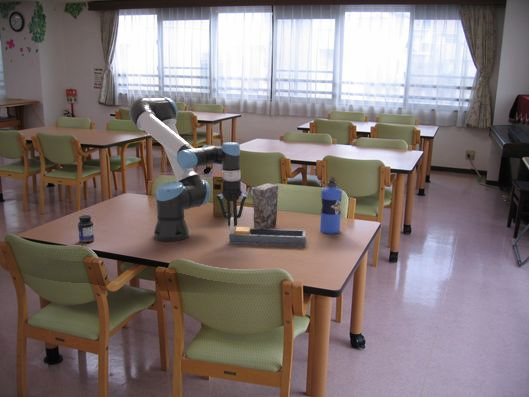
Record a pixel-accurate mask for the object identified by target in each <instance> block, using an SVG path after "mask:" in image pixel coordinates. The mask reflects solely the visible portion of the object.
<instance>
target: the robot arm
mask: <svg viewBox="0 0 529 397" xmlns="http://www.w3.org/2000/svg"><path fill="white" fill-rule="evenodd" d="M128 113H129V118H130V121H131V122H132V124H133V125H134V127H136V128H137V129H138V130H140V131H145V132H146V133H147V134H148V135H150V137H152V138H153V139H154V140H156V141H157V142H158V143H159V144H161V145H162V146H163V149H164V151H165V153H166V156H167V160H168V161H169V163H170V166H171V168H172V170H173V173H174V176H175V178H176V180H175V181H171V182H170V181H169V182H164V183H161V184H160V185H158V186H157V187H156V195H155V199H156V215H157V217H156V218H157V219H156V223H155V228H154V229H153V237H154V239H155V238H156V240H157V241H161V242H162V241H163V242H176V241H182V240H185V239H187V238H188V237H189V236H190V234H189V227H188V225H187V223H186V220H185V211H186V210H190V209H193V208H199V207H201V206H203V205H206V204H207V203H208V202H209V200H210V197H211V192H212V191H211V187H210V184H209V183H208V181H207V180H205V179H202V178H201V176H200V174H199V173H197V172H195V170H194V168H197V167H202V166H203V167H204V166H207V165H212V164H214V165H215V164H218V165H222V170H223V179H224V180H223V191H222V193H221V194H220V195H218V196H217V199H218V200H219V202H220V206H221V209H222V213H223V216H222V217H224V218H226V219H227V226H228V227H230V229H229V230H230V231H229V232H230V234H234V233H235V228H236V227H238V219H240V218H241V217H242V215H243V214H242V213H243V210H244V206H245V201H246V199H247V198H248V195H247V194H244V193H243V191H242V188H241V185H242V182H241V178H242V176H241V175H242V174H241V146H240V144H239V142H236V141H234V142H232V141H229V142H228V141H227V142H222V145H221V146H218V145H213V144H206V145H203V146H202V147H197V148H195V147H193V145H191V144H190V143H188V142H187V141H186V140H185V139H184V138H182V137H181V136H180V134H179V132H178V129H177V126H176V124H177V121H178V120H177V118H178V116H179V114H178V106H177V104H176V103H175V102H174V100H172V98H169V97H165V96H164V97H163V96H157V97H156V96H155V97H142V98H138V99H136V100H134V101H133V102H132V103H131V105H130V107H129V110H128ZM223 196H224V197H225V199H226V200H227V212H226V208H225V205H224V201H223ZM239 199H241V202H240V205H239V210H238V200H239ZM231 201H233V214H232V215H233V217H232V216H231Z"/></svg>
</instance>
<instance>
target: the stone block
mask: <svg viewBox="0 0 529 397" xmlns="http://www.w3.org/2000/svg"><path fill="white" fill-rule="evenodd" d="M278 192H279V186H278V185H277V184H273V183H269V182H267V183H264V184H260V185H259V186H255V187H254V188H253V189H252V205H253V207H252V208H253V228H258V229H272V227H275V226H276V225H277V219H278V216H277V215H278V198H279V195H278V194H279V193H278Z"/></svg>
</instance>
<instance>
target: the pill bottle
mask: <svg viewBox="0 0 529 397" xmlns="http://www.w3.org/2000/svg"><path fill="white" fill-rule="evenodd" d="M78 219H79V222H78V223H77V230H78V238H79V239H78V240H79V241H78V242H79V243H81V242H90V243H92V241H93V240H94V241H95V233H94V222H93V221H92V220H91V219H92V216H91V215H89V214H88V215H87V214H85V215H80V216H79V217H78ZM94 241H93V242H94Z"/></svg>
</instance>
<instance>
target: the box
mask: <svg viewBox="0 0 529 397" xmlns="http://www.w3.org/2000/svg"><path fill="white" fill-rule="evenodd" d="M223 180H224V179H223V169H222V170H221V169H220V170H218V172H216V173H215V174H214V175H213V176H212V205H213V208H212V211H213V213H212V214H213V216H215V217H217V216H218V217H223V213H222V209H221V206H220V202H219V200H218V199H217V196H218V195H220V194H221V193H222V191H223ZM223 201H224V205H225V208H226V212H227V200H226V199H225V197H224V196H223ZM233 215H234V214H233V201H231V217H233Z"/></svg>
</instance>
